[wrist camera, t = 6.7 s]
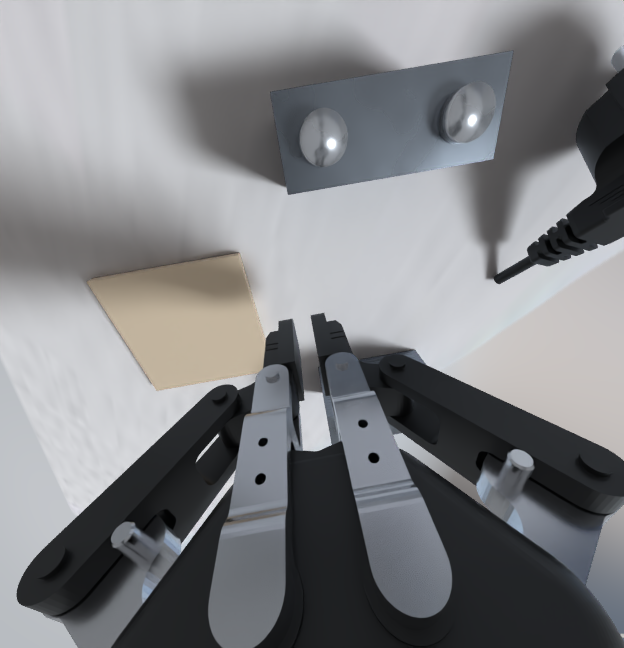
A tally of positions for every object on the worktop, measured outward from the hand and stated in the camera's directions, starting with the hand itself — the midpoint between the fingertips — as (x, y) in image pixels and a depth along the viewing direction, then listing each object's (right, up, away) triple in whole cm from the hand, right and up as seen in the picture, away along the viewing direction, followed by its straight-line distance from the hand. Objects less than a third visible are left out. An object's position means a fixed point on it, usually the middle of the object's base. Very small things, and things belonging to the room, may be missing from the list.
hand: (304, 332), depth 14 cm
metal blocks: (+4, +3, +4) cm, 6 cm away
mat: (-8, 0, +4) cm, 9 cm away
